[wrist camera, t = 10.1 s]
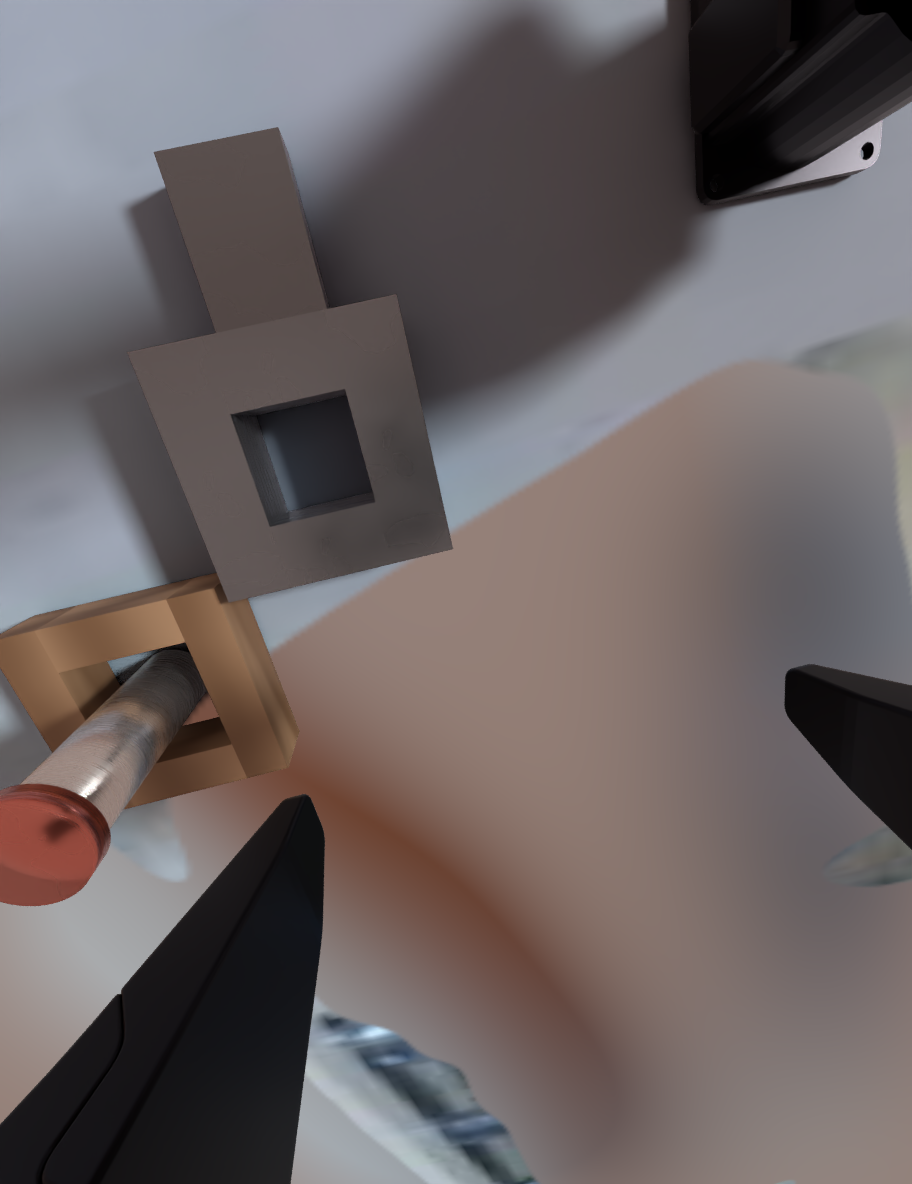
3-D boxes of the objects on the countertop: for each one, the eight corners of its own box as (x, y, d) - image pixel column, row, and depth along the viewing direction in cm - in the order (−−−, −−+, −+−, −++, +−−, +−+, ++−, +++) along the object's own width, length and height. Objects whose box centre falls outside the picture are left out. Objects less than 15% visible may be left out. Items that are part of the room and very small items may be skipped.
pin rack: (235, 568, 20) (214, 588, 17) (299, 731, 22) (288, 767, 20) (34, 615, 19) (-16, 642, 17) (124, 775, 22) (92, 817, 20)
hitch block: (356, 139, 16) (348, 78, 13) (444, 531, 20) (453, 548, 17) (105, 190, 15) (40, 139, 12) (252, 576, 20) (229, 602, 17)
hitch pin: (199, 634, 20) (55, 792, 12) (228, 699, 21) (115, 887, 13) (122, 653, 20) (-80, 826, 12) (155, 717, 21) (-8, 919, 13)
